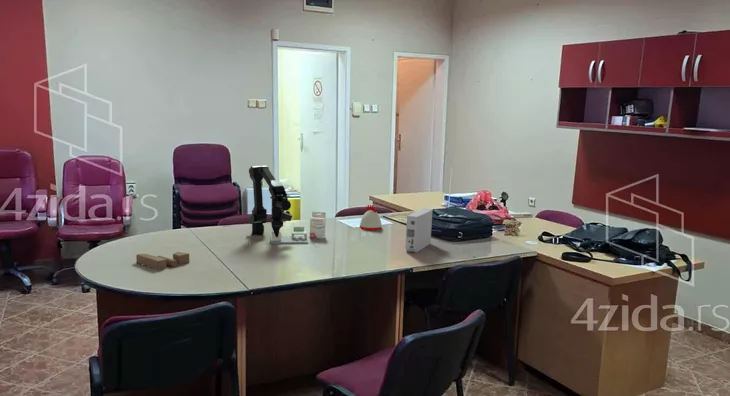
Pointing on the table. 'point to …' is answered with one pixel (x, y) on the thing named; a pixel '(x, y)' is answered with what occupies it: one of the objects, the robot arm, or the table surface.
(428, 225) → the game console
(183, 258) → the wooden block set
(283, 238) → the housing plate
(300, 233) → the cover
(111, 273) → the table surface
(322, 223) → the ink cartridge box
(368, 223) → the cream and red dome
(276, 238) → the white hollow square block
